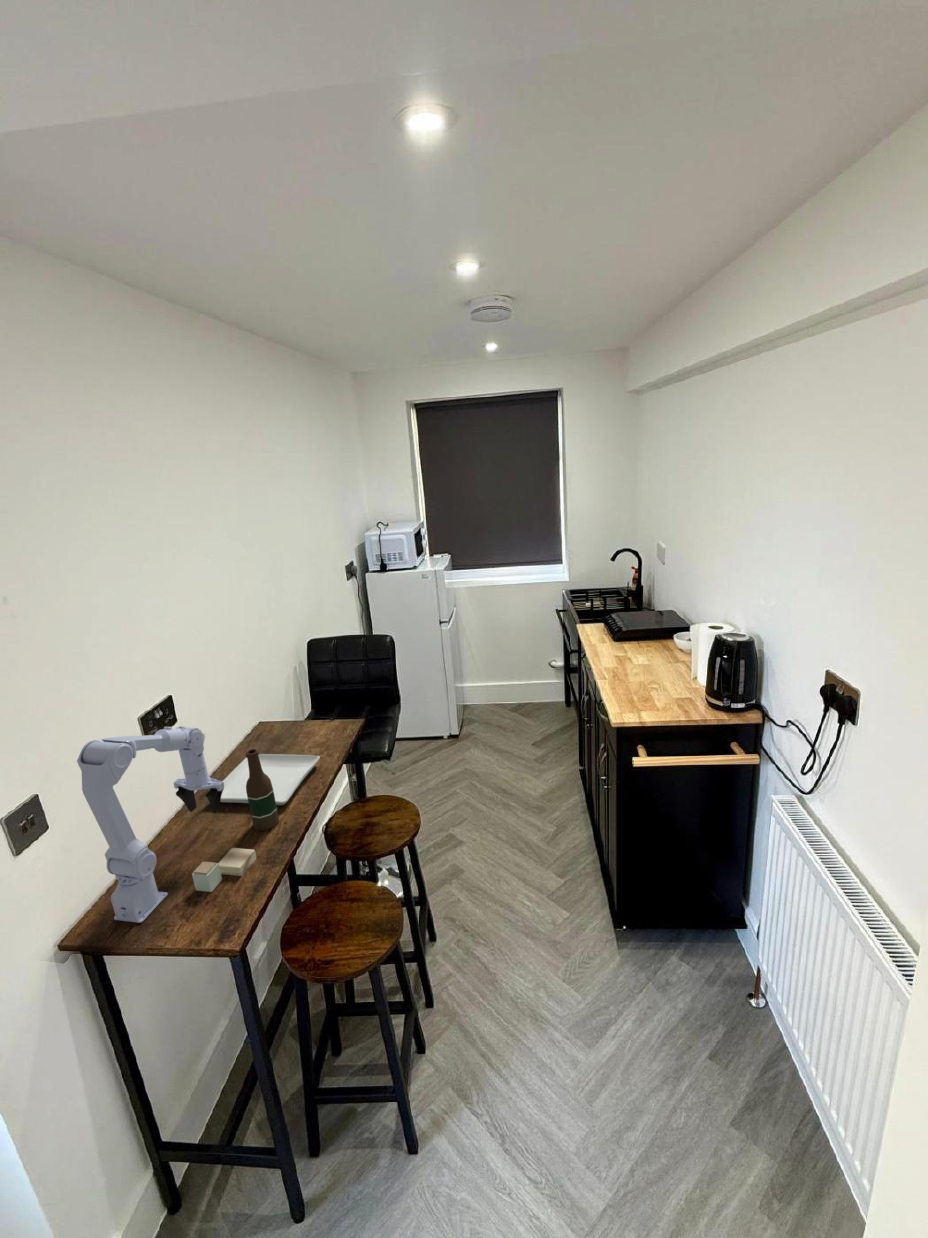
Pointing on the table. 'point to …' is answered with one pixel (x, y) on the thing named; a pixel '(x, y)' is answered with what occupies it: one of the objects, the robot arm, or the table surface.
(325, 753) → the table surface
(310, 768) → the square plate
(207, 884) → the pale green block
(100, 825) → the robot arm
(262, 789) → the beer bottle
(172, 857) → the table surface
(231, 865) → the base block
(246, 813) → the table surface
